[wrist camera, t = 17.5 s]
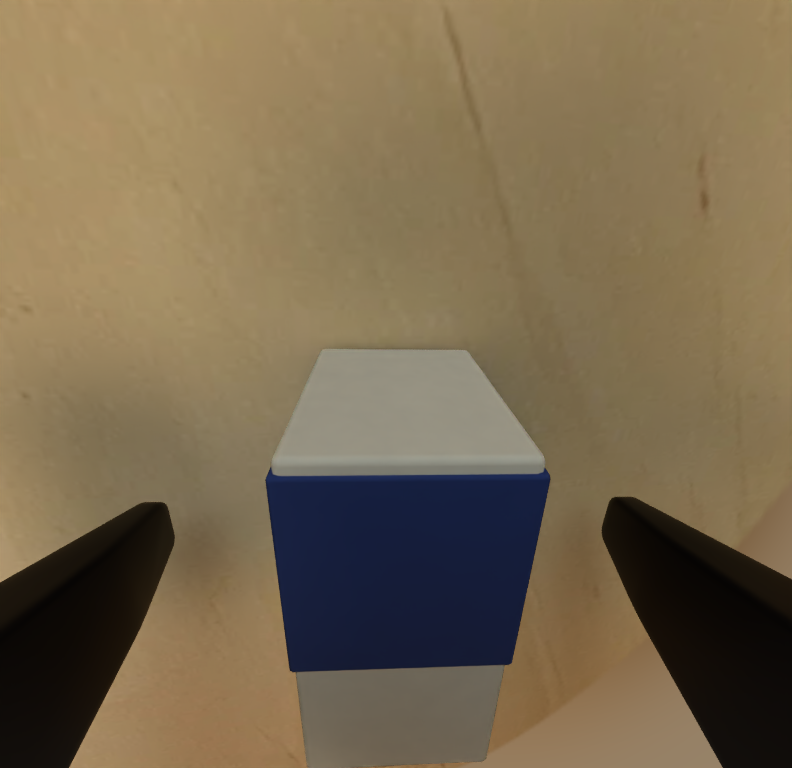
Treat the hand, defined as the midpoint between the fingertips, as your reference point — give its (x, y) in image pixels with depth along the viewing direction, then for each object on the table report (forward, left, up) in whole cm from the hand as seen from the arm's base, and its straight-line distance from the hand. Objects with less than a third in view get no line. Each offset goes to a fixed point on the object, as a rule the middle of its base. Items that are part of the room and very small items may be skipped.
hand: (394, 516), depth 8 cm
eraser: (0, 0, -1) cm, 1 cm away
